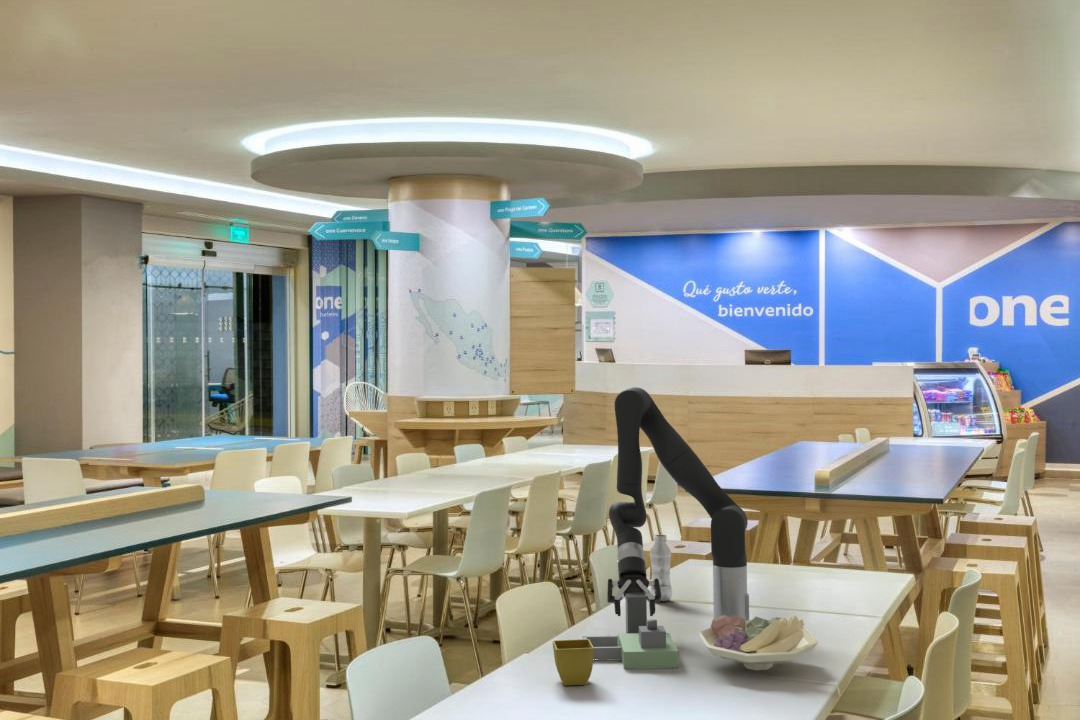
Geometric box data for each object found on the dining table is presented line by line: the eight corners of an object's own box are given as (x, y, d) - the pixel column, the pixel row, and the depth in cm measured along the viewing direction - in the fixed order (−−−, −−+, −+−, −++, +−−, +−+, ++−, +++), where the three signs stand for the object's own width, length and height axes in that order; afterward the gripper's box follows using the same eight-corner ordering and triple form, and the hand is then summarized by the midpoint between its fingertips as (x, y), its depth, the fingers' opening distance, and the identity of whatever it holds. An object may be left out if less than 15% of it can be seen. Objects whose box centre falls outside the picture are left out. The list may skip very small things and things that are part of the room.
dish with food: (794, 690, 251) (793, 626, 251) (679, 673, 266) (678, 613, 266) (833, 660, 275) (832, 602, 275) (725, 646, 290) (725, 591, 290)
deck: (668, 646, 290) (667, 607, 290) (678, 667, 270) (677, 626, 270) (582, 647, 290) (582, 609, 290) (586, 669, 270) (585, 627, 270)
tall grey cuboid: (644, 637, 300) (644, 592, 300) (647, 642, 294) (646, 596, 294) (626, 637, 300) (625, 592, 300) (627, 643, 294) (627, 597, 294)
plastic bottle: (671, 603, 341) (670, 537, 341) (649, 603, 342) (648, 537, 342) (673, 599, 347) (672, 534, 347) (651, 598, 348) (650, 533, 348)
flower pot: (552, 678, 263) (552, 639, 263) (590, 676, 264) (589, 638, 264) (556, 689, 254) (556, 649, 254) (595, 687, 255) (594, 647, 255)
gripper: (606, 555, 305) (609, 607, 294) (658, 554, 306) (663, 606, 294) (604, 571, 311) (607, 622, 299) (656, 570, 311) (661, 622, 299)
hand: (635, 614), depth 297 cm, fingers open, 8 cm apart
